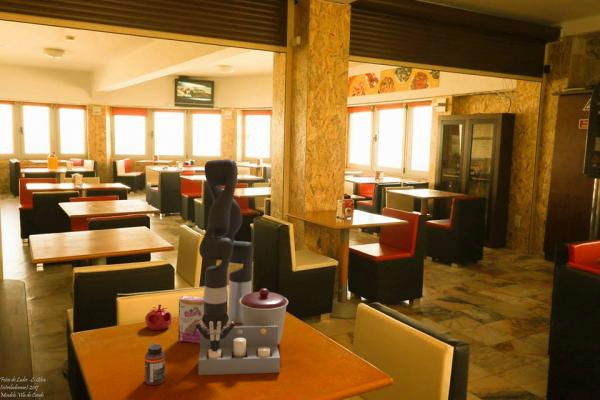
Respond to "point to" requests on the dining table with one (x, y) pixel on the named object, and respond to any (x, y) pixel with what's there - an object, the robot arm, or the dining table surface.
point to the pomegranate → (158, 319)
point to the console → (250, 361)
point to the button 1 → (215, 353)
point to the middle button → (239, 347)
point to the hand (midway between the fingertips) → (214, 350)
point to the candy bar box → (190, 318)
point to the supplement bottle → (154, 365)
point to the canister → (264, 310)
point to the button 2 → (263, 352)
